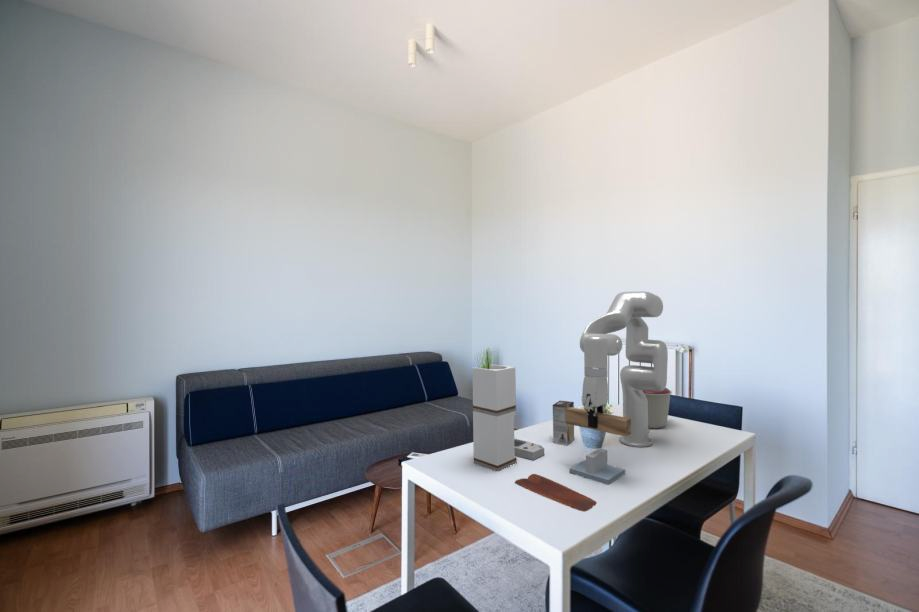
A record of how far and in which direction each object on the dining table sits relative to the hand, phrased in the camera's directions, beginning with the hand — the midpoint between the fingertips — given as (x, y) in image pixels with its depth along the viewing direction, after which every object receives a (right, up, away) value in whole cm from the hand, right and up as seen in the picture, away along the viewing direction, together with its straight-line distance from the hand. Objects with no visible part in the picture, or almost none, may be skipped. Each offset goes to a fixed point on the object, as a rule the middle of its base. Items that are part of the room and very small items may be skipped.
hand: (596, 425), depth 145 cm
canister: (+43, -15, +54) cm, 71 cm away
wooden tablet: (-17, -18, -14) cm, 28 cm away
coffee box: (-3, -16, +34) cm, 37 cm away
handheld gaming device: (-22, -17, +20) cm, 34 cm away
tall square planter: (-33, -17, +11) cm, 39 cm away
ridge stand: (0, -16, 0) cm, 16 cm away
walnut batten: (0, -1, 0) cm, 1 cm away
